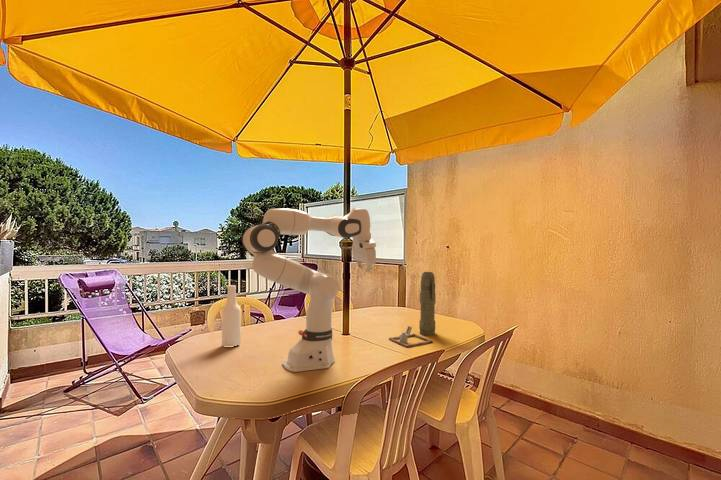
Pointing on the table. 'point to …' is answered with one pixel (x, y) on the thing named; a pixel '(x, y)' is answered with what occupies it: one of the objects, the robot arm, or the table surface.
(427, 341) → the frame
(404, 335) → the lighter
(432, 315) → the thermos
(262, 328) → the table surface
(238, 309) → the alcohol
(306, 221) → the robot arm
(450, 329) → the table surface
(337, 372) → the table surface
